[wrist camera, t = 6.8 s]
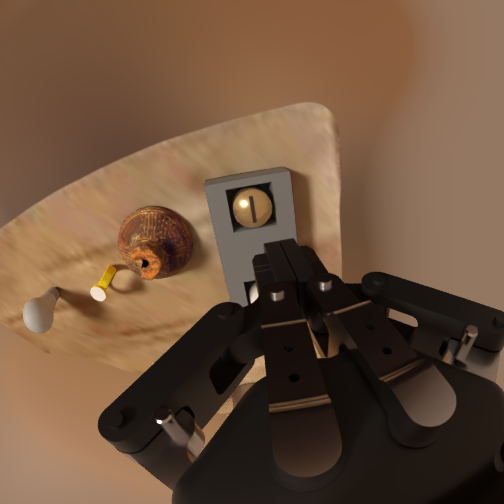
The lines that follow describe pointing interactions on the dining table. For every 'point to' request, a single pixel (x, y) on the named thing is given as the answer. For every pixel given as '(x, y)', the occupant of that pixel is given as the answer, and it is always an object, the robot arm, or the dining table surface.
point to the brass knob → (251, 206)
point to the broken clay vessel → (155, 242)
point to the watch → (103, 284)
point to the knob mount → (248, 238)
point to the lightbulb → (41, 311)
